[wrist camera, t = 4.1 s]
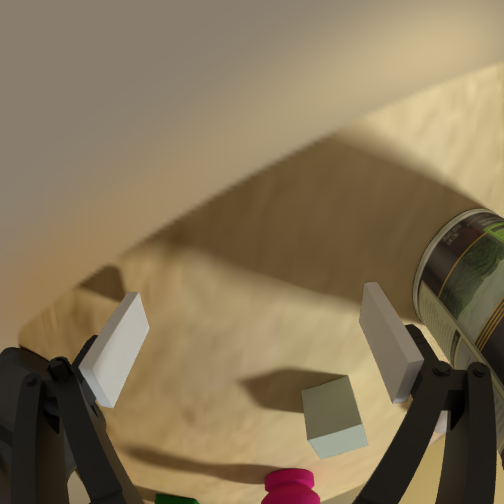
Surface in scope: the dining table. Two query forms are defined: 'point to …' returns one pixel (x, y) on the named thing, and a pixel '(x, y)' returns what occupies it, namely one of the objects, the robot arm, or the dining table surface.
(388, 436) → the dining table surface
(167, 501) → the milk carton
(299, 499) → the pepper mill
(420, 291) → the coffee can
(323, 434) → the sage block
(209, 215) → the dining table surface
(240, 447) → the dining table surface
